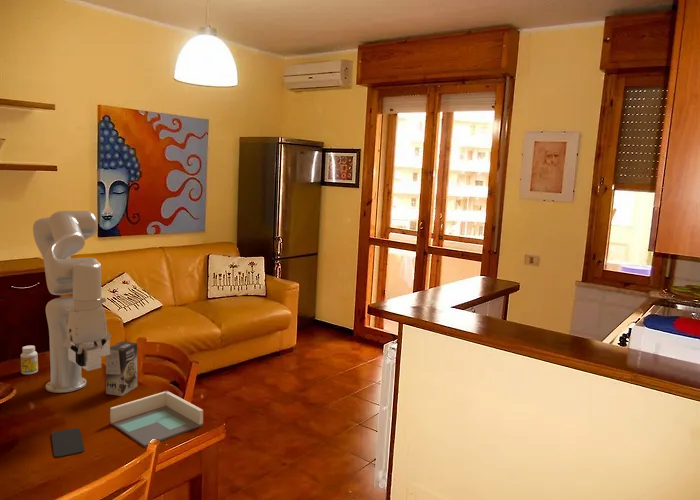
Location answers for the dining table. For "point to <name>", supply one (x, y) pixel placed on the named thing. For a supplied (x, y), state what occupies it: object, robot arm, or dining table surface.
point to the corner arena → (156, 417)
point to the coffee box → (121, 368)
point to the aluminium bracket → (91, 354)
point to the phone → (67, 442)
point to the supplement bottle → (29, 360)
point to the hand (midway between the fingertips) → (88, 362)
